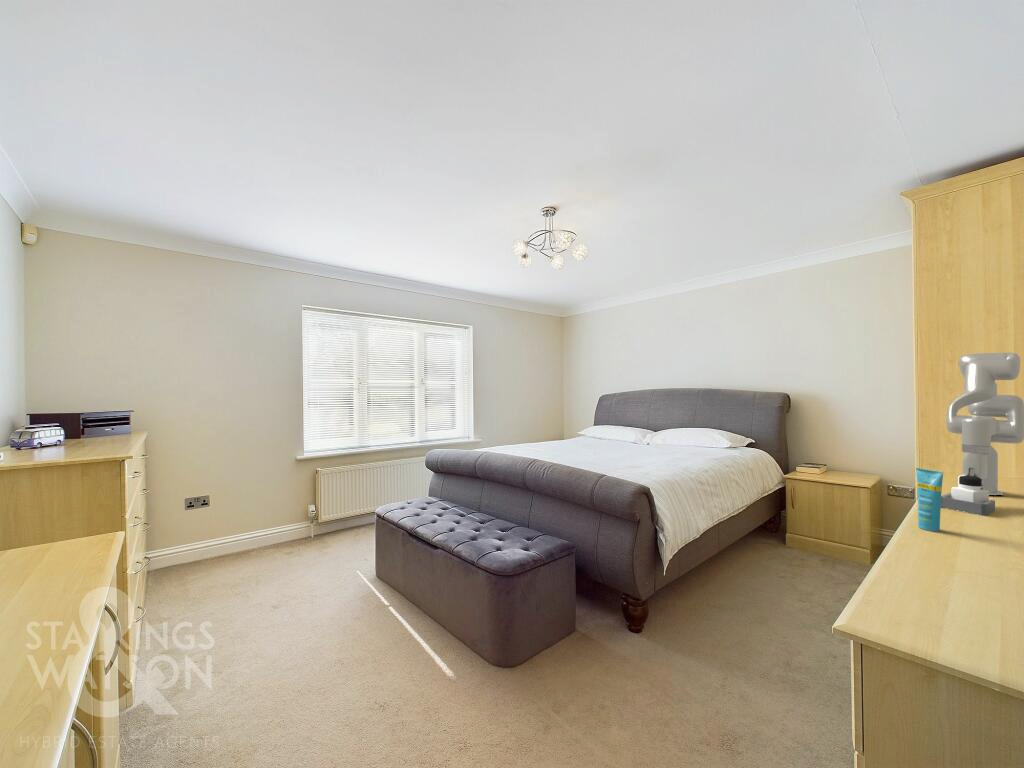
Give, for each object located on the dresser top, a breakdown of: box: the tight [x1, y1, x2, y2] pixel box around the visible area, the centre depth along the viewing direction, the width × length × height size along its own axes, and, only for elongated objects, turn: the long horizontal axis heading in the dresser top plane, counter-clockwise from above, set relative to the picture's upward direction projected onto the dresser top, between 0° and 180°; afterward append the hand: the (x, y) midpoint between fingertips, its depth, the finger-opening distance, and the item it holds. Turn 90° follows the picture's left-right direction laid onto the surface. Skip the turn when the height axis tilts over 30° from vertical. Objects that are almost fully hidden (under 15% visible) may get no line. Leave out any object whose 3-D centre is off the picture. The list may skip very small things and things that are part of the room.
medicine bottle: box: [950, 474, 990, 504], centre depth 159 cm, size 7×7×12 cm
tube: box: [915, 467, 944, 532], centre depth 136 cm, size 7×5×19 cm, turn 17°
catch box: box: [941, 492, 996, 517], centre depth 157 cm, size 11×12×4 cm
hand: (975, 497), depth 162 cm, fingers closed
